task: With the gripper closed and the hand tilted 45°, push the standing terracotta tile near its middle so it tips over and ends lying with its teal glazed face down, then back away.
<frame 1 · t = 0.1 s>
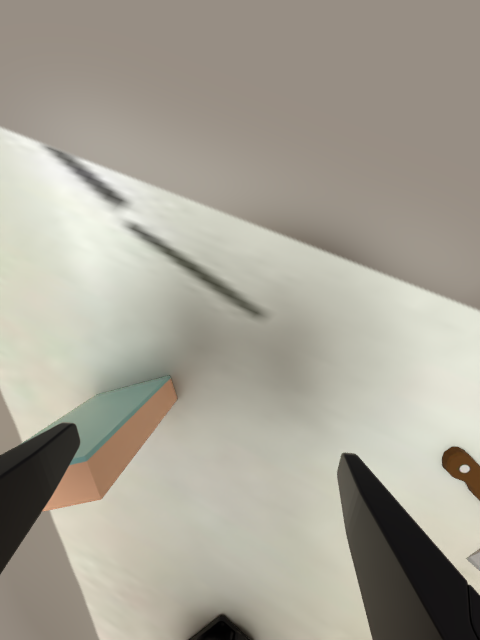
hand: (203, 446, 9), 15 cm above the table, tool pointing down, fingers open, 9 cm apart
glazed tile: (136, 396, 26), on the table
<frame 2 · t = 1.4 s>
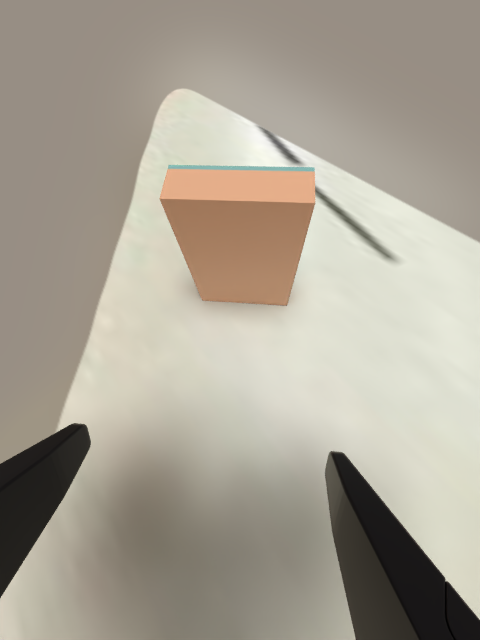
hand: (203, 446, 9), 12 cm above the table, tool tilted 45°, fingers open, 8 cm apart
glazed tile: (245, 291, 25), on the table
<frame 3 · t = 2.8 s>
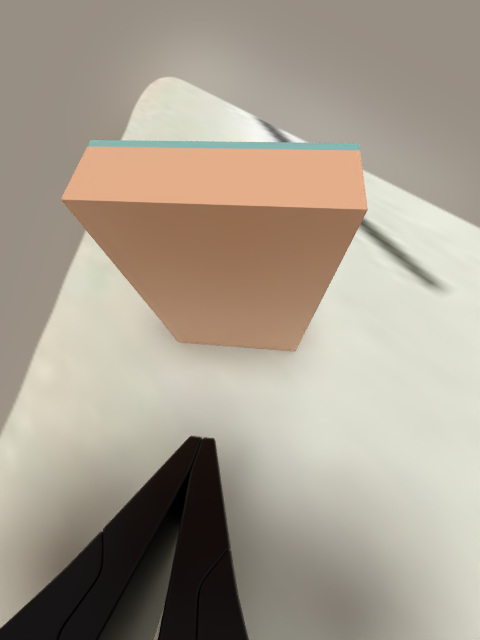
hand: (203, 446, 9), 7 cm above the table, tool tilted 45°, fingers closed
glazed tile: (237, 329, 18), on the table
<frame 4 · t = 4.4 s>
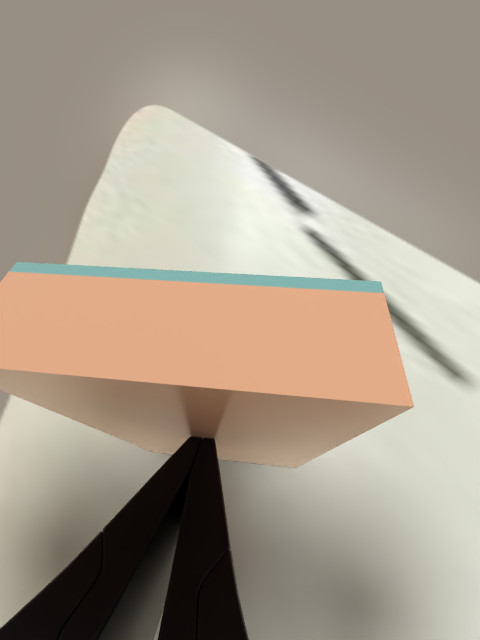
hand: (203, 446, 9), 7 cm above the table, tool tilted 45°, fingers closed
glazed tile: (224, 435, 15), on the table, tilted 10°
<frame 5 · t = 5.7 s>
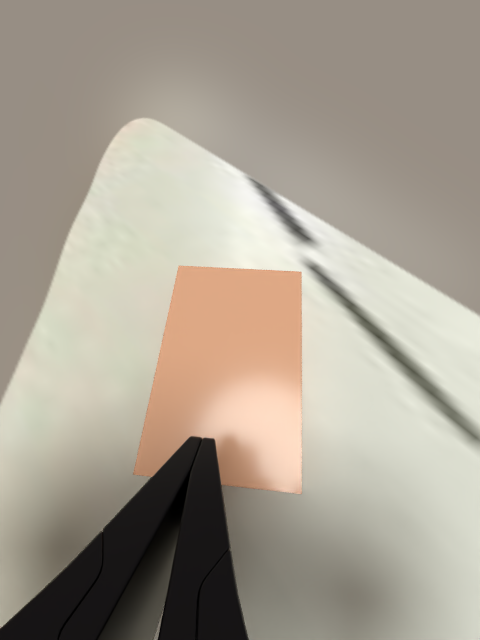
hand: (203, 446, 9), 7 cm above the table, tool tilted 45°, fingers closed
glazed tile: (218, 479, 13), point 1 cm above the table, tilted 90°
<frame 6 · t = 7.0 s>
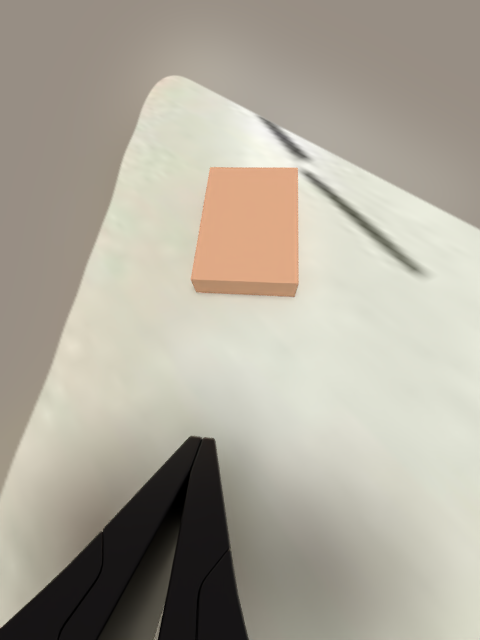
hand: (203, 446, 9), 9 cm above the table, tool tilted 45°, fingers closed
glazed tile: (244, 289, 20), point 1 cm above the table, tilted 90°
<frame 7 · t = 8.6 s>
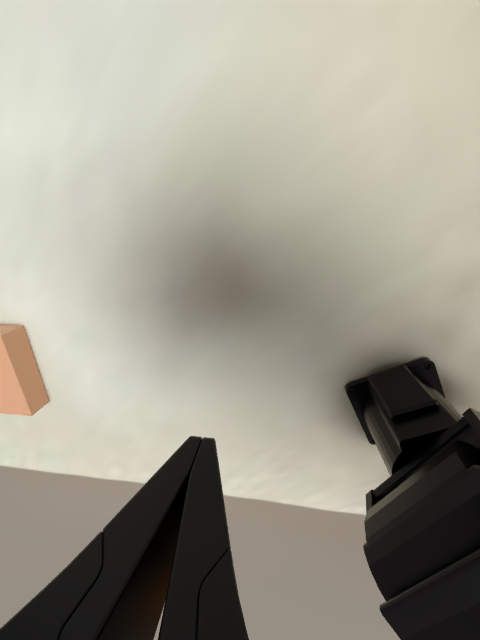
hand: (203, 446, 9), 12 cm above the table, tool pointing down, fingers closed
glazed tile: (30, 370, 23), point 1 cm above the table, tilted 90°
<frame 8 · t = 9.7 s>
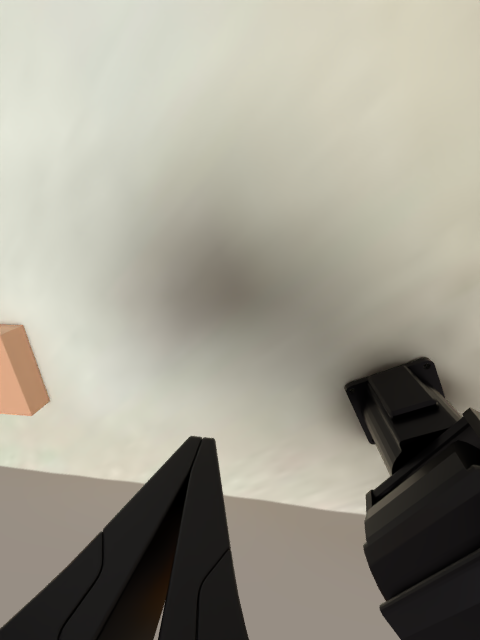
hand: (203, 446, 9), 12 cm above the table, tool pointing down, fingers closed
glazed tile: (29, 370, 23), point 1 cm above the table, tilted 90°
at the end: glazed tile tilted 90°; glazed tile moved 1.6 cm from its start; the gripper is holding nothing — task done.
